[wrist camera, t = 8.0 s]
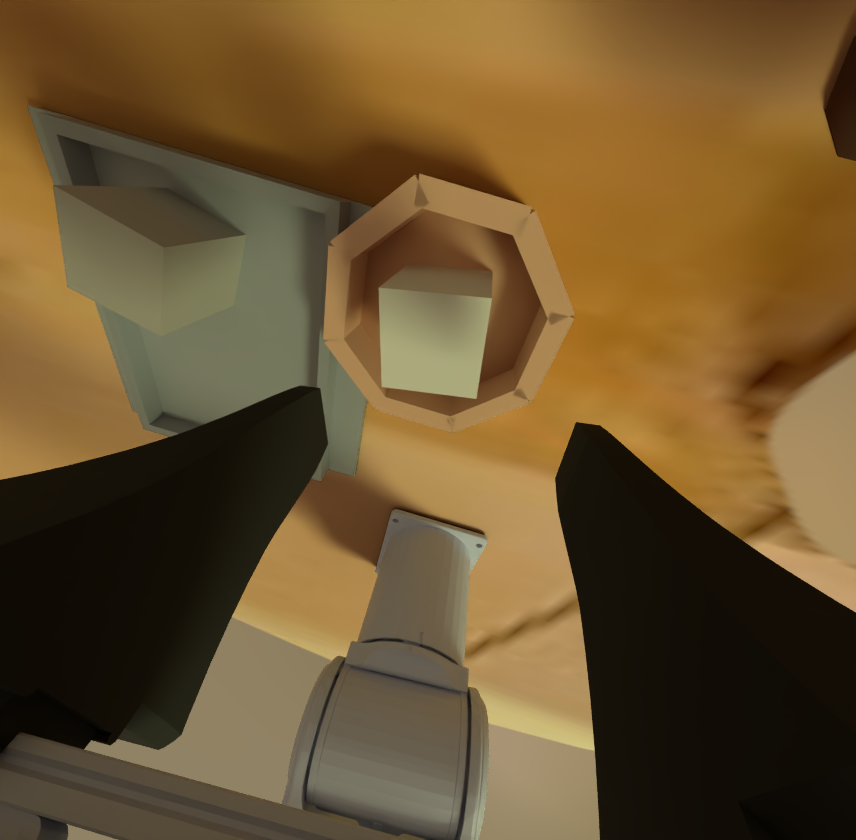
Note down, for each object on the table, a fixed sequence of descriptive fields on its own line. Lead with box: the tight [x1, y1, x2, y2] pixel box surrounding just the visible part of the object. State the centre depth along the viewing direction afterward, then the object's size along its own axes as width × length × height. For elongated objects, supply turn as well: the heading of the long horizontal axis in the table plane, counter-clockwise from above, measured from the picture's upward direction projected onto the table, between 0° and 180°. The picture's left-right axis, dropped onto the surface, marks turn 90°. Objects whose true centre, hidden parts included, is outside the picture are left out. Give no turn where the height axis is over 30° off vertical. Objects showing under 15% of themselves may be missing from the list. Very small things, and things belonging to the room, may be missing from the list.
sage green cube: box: [379, 264, 493, 399], centre depth 15 cm, size 4×4×5 cm
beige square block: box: [53, 185, 246, 336], centre depth 15 cm, size 4×4×5 cm
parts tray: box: [27, 105, 373, 482], centre depth 20 cm, size 17×17×2 cm
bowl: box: [323, 174, 575, 433], centre depth 16 cm, size 11×11×3 cm
